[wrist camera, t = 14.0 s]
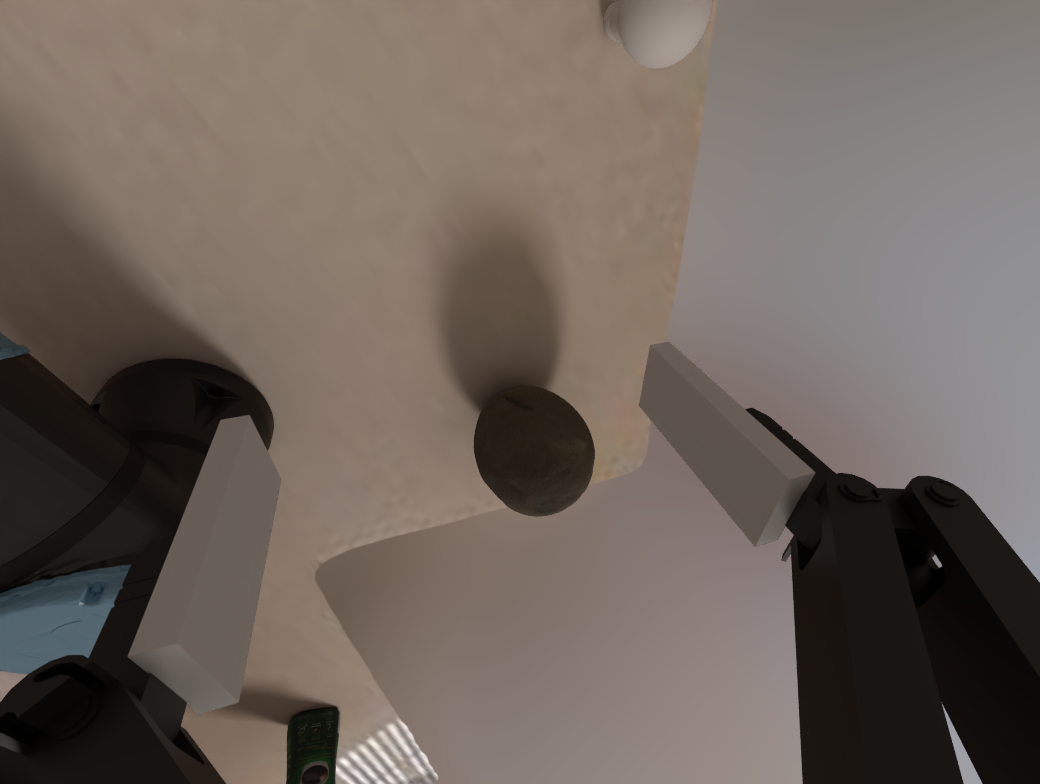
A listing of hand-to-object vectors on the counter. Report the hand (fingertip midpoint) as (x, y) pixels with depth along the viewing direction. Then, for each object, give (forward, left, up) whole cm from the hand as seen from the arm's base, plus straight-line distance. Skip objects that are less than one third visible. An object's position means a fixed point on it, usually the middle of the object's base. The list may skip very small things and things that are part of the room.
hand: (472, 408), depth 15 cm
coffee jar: (-34, -97, -32) cm, 108 cm away
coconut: (+10, -27, -32) cm, 43 cm away
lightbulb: (+19, +12, -32) cm, 39 cm away
